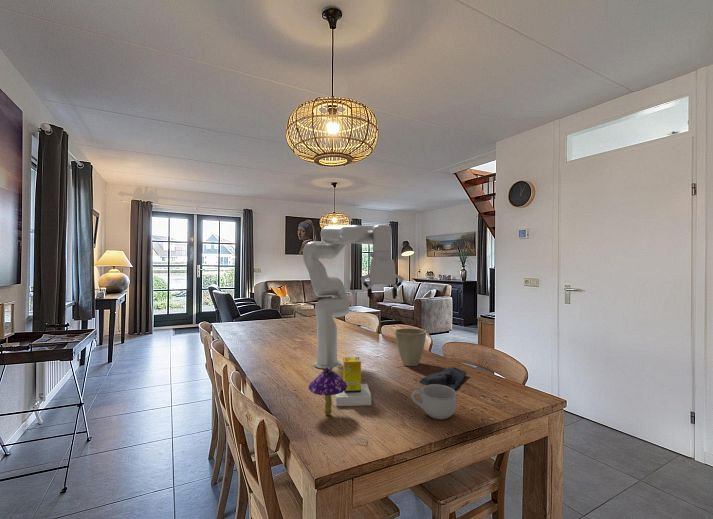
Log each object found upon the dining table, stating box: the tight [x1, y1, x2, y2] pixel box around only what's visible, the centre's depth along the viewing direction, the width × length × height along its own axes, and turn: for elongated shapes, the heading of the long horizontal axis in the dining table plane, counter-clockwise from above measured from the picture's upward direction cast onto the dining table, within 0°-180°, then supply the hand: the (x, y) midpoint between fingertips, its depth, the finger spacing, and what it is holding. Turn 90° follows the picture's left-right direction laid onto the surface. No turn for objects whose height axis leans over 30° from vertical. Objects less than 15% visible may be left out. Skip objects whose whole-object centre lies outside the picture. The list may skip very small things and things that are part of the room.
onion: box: [331, 364, 343, 380], centre depth 139 cm, size 8×8×7 cm
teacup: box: [410, 384, 457, 420], centre depth 109 cm, size 14×11×8 cm
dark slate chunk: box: [419, 366, 468, 391], centre depth 141 cm, size 15×22×5 cm
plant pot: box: [394, 327, 427, 367], centre depth 163 cm, size 15×15×16 cm
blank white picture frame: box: [334, 383, 372, 407], centre depth 121 cm, size 12×12×3 cm
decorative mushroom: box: [308, 367, 347, 416], centre depth 109 cm, size 12×12×15 cm
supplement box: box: [342, 356, 362, 393], centre depth 121 cm, size 6×6×11 cm
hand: (382, 298), depth 136 cm, fingers open, 9 cm apart
